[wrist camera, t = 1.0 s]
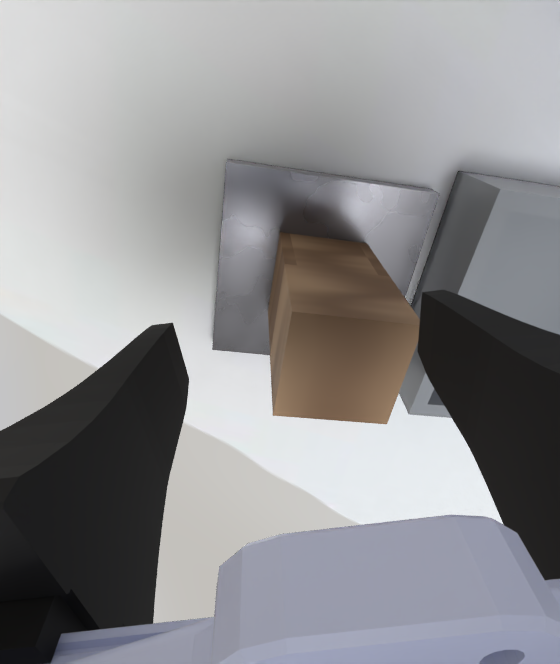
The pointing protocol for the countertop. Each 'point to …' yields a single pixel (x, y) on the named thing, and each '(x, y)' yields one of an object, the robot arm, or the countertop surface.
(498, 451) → the robot arm
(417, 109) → the countertop surface
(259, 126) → the countertop surface
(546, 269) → the charcoal bin
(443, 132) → the countertop surface
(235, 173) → the stud plate
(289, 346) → the walnut strut
